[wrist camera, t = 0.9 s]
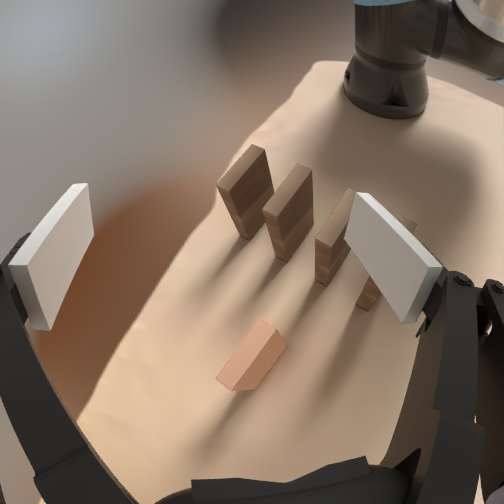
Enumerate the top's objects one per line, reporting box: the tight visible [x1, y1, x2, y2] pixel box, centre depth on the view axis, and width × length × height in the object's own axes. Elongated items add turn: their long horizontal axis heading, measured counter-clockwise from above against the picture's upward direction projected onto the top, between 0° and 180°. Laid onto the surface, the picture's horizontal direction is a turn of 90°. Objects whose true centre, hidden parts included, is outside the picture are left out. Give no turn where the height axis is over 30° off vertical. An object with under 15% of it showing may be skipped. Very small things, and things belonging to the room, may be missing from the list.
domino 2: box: [215, 318, 287, 391], centre depth 29 cm, size 2×6×11 cm, turn 143°
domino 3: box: [262, 164, 314, 263], centre depth 34 cm, size 2×6×11 cm, turn 144°
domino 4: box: [315, 188, 356, 287], centre depth 32 cm, size 2×6×11 cm, turn 144°
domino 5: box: [356, 216, 417, 311], centre depth 30 cm, size 2×6×11 cm, turn 144°
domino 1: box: [216, 144, 274, 241], centre depth 36 cm, size 2×6×11 cm, turn 143°
